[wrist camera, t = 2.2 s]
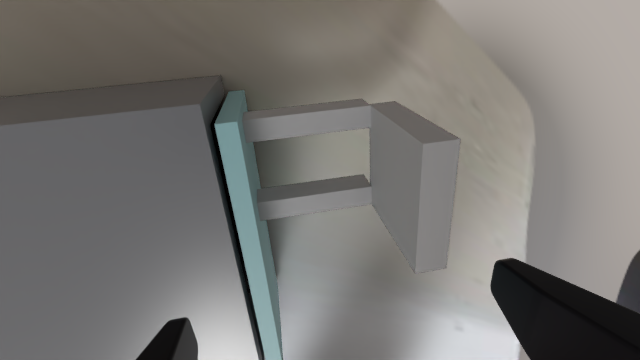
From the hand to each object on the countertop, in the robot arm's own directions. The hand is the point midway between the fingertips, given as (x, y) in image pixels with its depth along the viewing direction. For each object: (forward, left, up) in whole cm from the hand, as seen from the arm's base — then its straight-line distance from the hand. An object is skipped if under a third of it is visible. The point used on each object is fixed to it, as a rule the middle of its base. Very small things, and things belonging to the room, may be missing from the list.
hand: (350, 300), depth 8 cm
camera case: (+10, +4, -13) cm, 17 cm away
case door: (-1, +4, -13) cm, 13 cm away
